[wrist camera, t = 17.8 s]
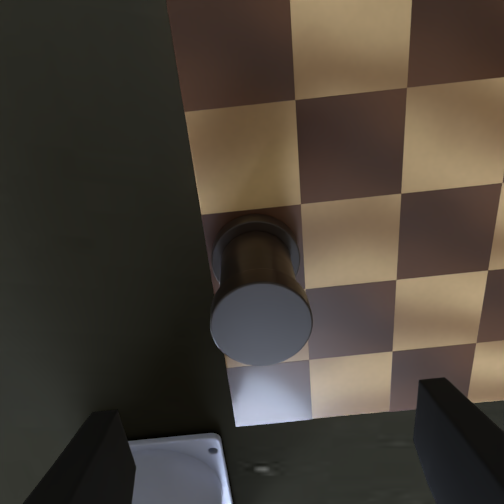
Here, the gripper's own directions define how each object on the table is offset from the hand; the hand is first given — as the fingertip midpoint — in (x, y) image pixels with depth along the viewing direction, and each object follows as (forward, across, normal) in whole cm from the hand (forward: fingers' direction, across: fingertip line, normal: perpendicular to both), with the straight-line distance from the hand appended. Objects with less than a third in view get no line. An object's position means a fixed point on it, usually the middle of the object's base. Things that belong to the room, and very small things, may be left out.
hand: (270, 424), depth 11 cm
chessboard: (+10, -6, 0) cm, 12 cm away
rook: (+9, 0, 0) cm, 9 cm away
